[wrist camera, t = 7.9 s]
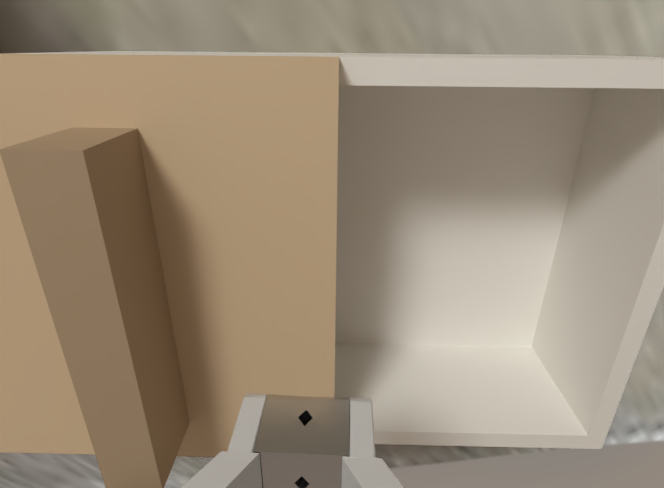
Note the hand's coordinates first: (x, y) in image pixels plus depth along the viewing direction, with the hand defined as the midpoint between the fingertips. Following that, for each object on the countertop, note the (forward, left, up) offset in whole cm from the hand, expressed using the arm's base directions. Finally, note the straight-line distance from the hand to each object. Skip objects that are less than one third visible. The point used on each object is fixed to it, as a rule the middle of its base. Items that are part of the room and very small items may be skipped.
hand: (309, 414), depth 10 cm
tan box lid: (+10, 0, -6) cm, 12 cm away
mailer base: (-2, 0, -13) cm, 13 cm away
